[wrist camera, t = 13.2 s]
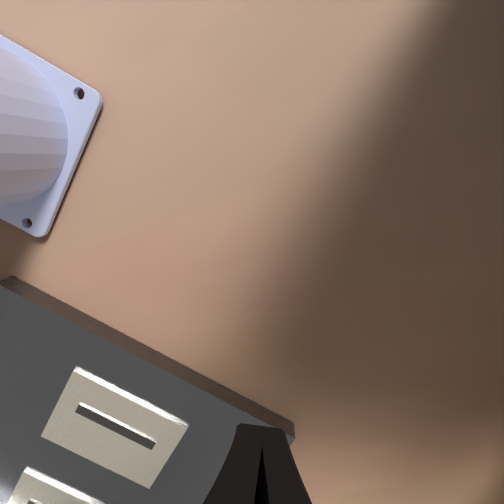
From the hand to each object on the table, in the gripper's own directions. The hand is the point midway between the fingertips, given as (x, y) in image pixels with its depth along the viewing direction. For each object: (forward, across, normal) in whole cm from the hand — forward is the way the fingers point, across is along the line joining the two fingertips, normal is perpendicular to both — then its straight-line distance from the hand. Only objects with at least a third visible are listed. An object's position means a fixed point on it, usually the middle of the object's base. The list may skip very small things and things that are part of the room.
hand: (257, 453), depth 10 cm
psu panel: (+9, +10, +13) cm, 19 cm away
